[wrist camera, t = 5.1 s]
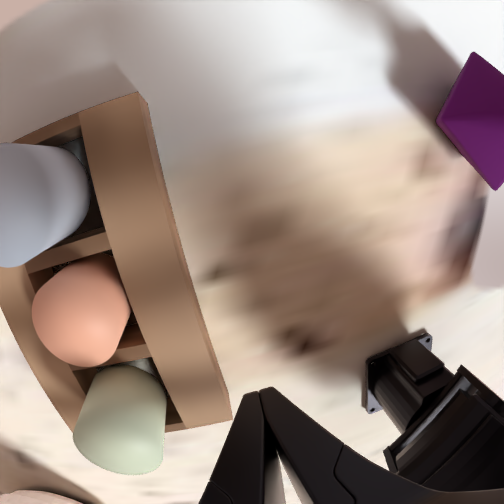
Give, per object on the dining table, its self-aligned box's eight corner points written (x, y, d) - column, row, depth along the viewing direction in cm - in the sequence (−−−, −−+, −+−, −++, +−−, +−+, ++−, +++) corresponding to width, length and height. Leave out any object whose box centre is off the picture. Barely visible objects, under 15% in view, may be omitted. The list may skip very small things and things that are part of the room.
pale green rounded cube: (177, 416, 19) (176, 471, 14) (112, 425, 18) (100, 476, 14) (149, 357, 17) (139, 412, 13) (79, 370, 17) (56, 421, 12)
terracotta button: (146, 317, 19) (134, 359, 15) (80, 331, 19) (56, 372, 14) (121, 242, 18) (97, 267, 13) (53, 262, 17) (18, 290, 13)
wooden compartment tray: (228, 392, 22) (232, 419, 19) (87, 415, 21) (78, 440, 18) (147, 103, 16) (137, 91, 13) (-13, 169, 15) (-39, 171, 12)
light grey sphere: (101, 226, 15) (66, 250, 10) (27, 250, 15) (-19, 279, 10) (79, 133, 14) (36, 123, 9) (5, 165, 13) (-47, 170, 9)
